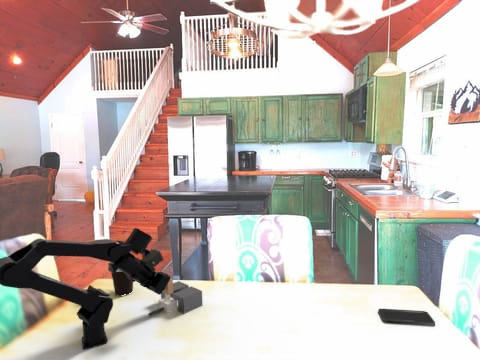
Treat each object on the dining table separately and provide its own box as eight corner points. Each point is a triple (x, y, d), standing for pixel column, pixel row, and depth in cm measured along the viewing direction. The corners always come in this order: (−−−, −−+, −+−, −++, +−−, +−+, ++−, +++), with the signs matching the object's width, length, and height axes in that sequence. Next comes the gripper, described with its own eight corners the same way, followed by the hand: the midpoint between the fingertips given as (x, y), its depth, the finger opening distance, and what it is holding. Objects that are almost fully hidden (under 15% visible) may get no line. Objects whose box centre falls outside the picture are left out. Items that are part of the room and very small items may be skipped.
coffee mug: (131, 297, 125) (129, 271, 124) (108, 297, 126) (106, 271, 125) (140, 284, 137) (139, 261, 136) (120, 285, 137) (118, 261, 136)
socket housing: (184, 313, 111) (183, 298, 111) (161, 301, 121) (160, 287, 120) (202, 305, 117) (201, 290, 117) (179, 294, 126) (178, 281, 126)
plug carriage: (152, 319, 108) (151, 287, 107) (144, 314, 111) (143, 283, 110) (177, 308, 115) (175, 278, 114) (168, 304, 118) (167, 275, 117)
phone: (377, 308, 110) (426, 311, 107) (377, 311, 110) (426, 314, 107) (383, 320, 102) (436, 323, 100) (383, 323, 102) (436, 327, 100)
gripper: (163, 249, 101) (193, 274, 110) (132, 239, 114) (162, 262, 123) (141, 282, 96) (175, 305, 105) (112, 268, 109) (144, 289, 118)
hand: (164, 288), depth 113 cm, fingers closed, pressing on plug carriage
